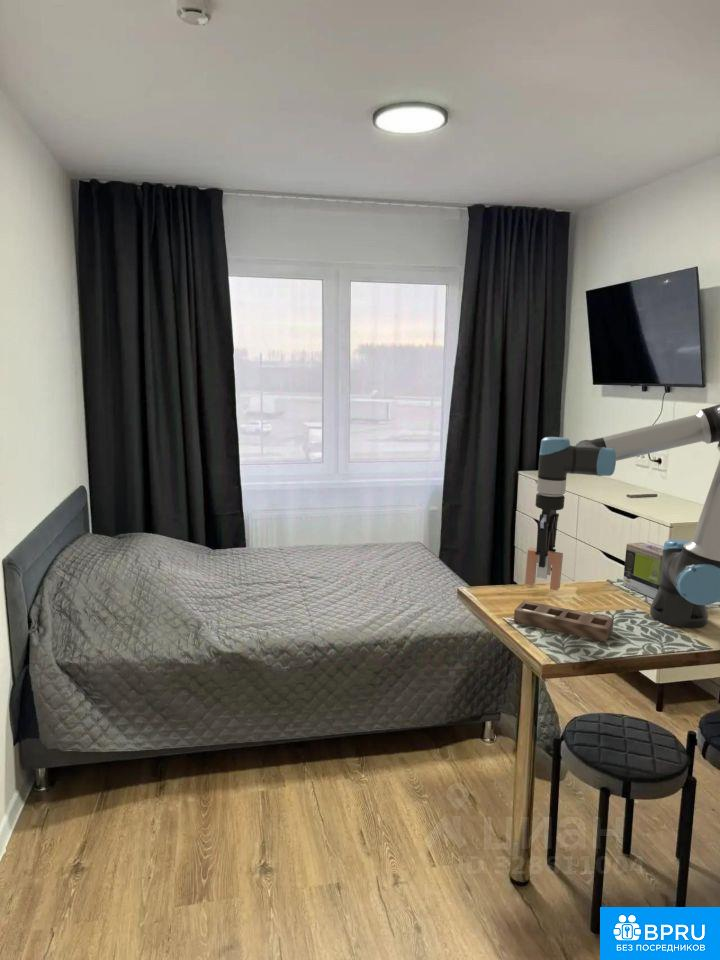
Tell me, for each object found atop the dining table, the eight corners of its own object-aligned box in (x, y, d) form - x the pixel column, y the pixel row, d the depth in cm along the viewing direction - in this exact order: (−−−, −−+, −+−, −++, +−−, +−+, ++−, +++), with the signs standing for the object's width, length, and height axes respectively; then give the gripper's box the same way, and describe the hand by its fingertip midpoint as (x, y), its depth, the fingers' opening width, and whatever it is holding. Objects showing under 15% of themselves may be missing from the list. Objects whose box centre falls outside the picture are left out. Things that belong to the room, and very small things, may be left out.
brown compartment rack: (612, 630, 182) (613, 617, 182) (606, 642, 175) (607, 628, 174) (523, 611, 195) (524, 599, 194) (513, 621, 187) (514, 609, 186)
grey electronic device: (680, 597, 209) (686, 552, 207) (656, 601, 206) (661, 555, 203) (644, 582, 223) (649, 540, 220) (621, 585, 219) (625, 542, 217)
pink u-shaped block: (559, 587, 185) (563, 553, 183) (557, 590, 182) (560, 555, 181) (528, 581, 189) (530, 547, 188) (525, 584, 187) (527, 550, 185)
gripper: (544, 487, 190) (538, 566, 194) (528, 496, 176) (521, 580, 180) (571, 490, 186) (564, 570, 190) (556, 500, 172) (549, 586, 177)
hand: (543, 575), depth 185 cm, fingers closed on pink u-shaped block, 3 cm apart
